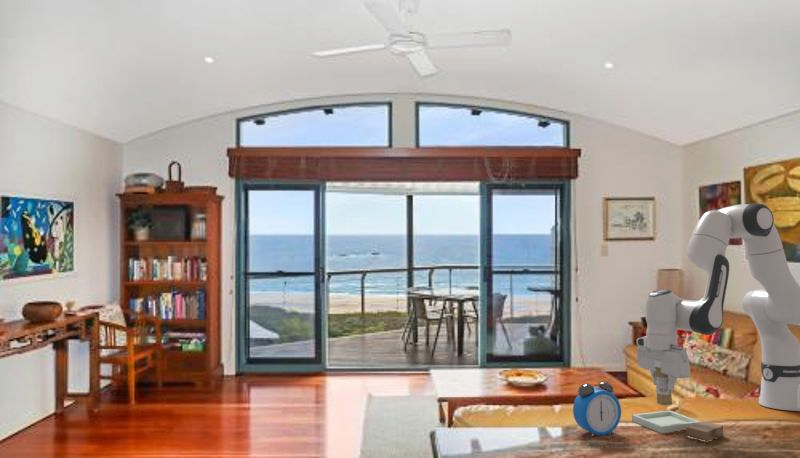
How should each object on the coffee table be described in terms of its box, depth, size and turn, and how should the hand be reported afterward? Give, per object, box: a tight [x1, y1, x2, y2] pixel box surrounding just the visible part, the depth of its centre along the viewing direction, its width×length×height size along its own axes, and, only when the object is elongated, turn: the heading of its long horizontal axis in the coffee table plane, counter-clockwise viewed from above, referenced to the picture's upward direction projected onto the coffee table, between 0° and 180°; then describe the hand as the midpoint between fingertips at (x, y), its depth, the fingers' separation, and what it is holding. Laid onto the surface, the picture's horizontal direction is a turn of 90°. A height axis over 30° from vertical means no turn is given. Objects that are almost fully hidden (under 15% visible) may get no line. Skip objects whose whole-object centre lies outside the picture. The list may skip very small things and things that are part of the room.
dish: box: [631, 410, 701, 434], centre depth 188 cm, size 14×14×2 cm
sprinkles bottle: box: [655, 361, 673, 406], centre depth 189 cm, size 5×5×13 cm
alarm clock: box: [572, 381, 622, 436], centre depth 182 cm, size 13×6×15 cm, turn 107°
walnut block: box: [685, 420, 724, 441], centre depth 175 cm, size 9×6×3 cm, turn 125°
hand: (663, 387), depth 189 cm, fingers closed on sprinkles bottle, 4 cm apart
